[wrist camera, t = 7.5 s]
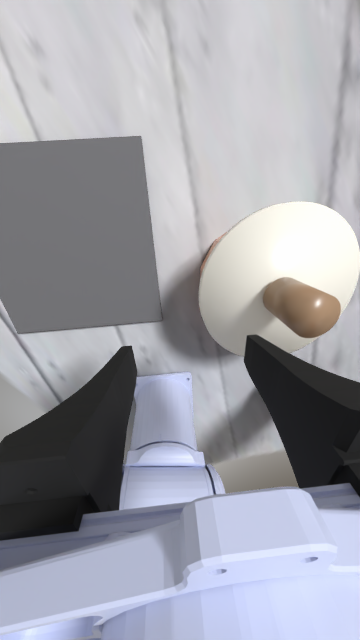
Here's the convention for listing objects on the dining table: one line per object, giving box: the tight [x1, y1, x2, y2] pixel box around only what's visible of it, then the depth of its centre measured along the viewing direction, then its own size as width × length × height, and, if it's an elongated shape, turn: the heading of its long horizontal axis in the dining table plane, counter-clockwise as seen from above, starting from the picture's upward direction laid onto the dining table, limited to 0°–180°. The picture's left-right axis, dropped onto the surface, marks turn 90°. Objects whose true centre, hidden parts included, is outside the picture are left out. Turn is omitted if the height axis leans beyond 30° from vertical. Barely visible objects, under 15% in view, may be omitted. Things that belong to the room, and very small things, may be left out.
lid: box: [198, 202, 360, 357], centre depth 14 cm, size 13×13×5 cm
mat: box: [0, 136, 162, 333], centre depth 19 cm, size 16×16×1 cm
